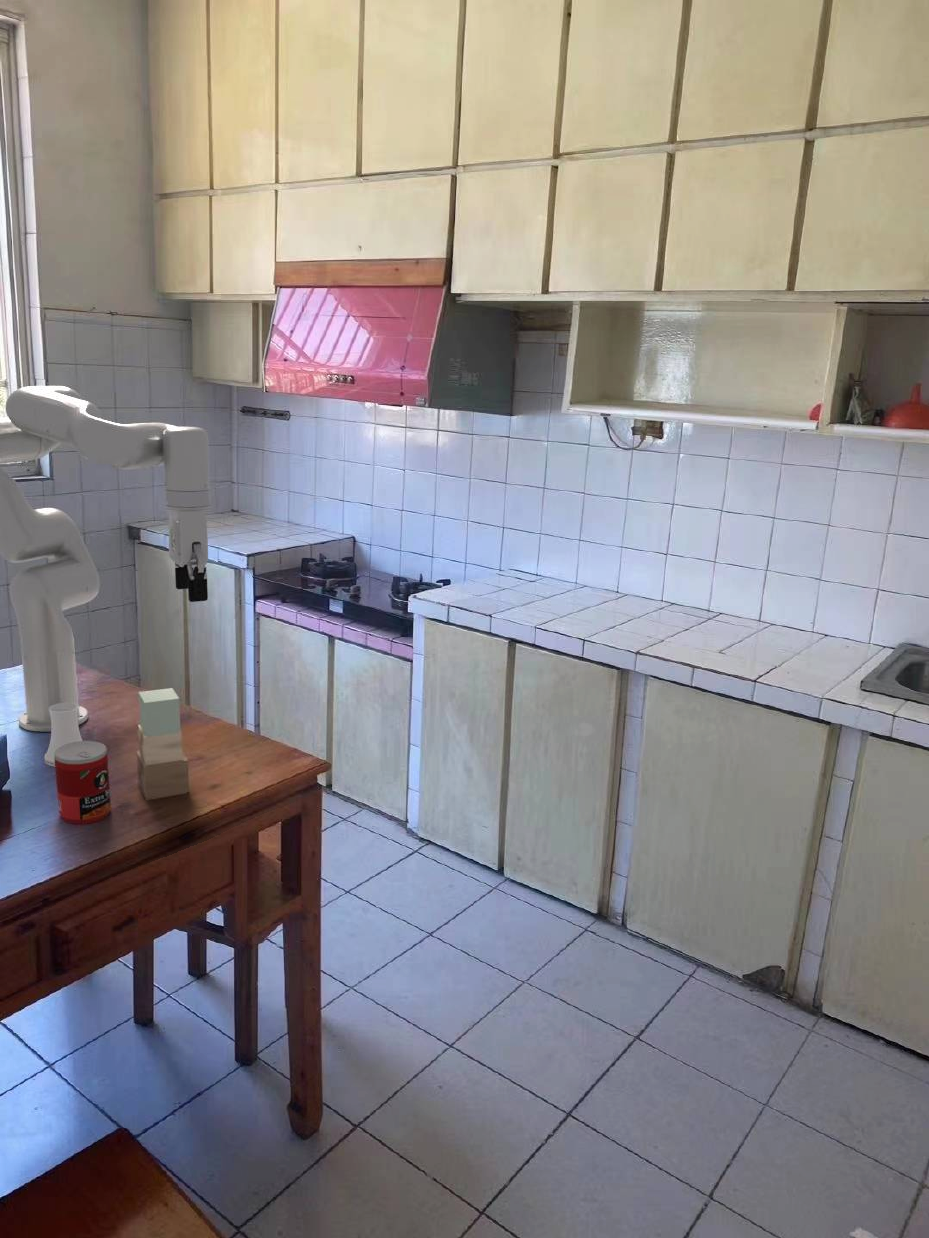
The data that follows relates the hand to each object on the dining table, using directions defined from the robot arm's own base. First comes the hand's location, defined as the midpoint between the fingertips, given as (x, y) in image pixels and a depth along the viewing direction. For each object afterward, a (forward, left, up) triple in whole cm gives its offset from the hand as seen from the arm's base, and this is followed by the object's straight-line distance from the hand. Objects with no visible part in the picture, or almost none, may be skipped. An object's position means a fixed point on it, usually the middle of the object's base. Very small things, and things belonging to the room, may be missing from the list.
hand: (191, 594), depth 165 cm
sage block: (+13, -9, -19) cm, 25 cm away
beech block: (+13, -9, -24) cm, 29 cm away
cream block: (+13, -9, -30) cm, 34 cm away
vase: (-6, -22, -31) cm, 38 cm away
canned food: (+17, -22, -31) cm, 41 cm away
